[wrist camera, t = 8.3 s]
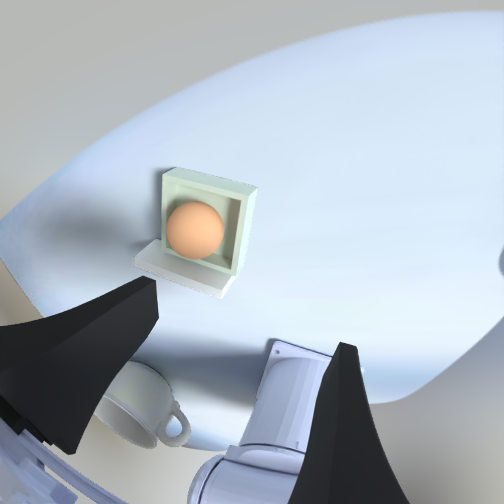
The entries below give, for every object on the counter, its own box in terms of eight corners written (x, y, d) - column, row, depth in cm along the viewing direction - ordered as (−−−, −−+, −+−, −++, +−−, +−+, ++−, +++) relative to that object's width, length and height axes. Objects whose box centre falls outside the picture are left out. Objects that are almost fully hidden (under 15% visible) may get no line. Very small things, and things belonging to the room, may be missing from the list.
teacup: (121, 381, 40) (92, 419, 33) (108, 334, 34) (69, 378, 28) (207, 422, 37) (182, 469, 31) (211, 382, 31) (178, 441, 25)
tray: (244, 263, 22) (235, 276, 21) (173, 239, 23) (161, 250, 22) (257, 187, 19) (248, 195, 18) (176, 167, 20) (162, 174, 19)
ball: (227, 249, 21) (206, 278, 18) (181, 234, 22) (154, 259, 19) (236, 201, 19) (213, 225, 16) (185, 187, 20) (156, 207, 17)
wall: (237, 275, 23) (220, 299, 20) (156, 246, 24) (134, 266, 22) (238, 266, 22) (222, 290, 20) (156, 238, 24) (133, 257, 21)
